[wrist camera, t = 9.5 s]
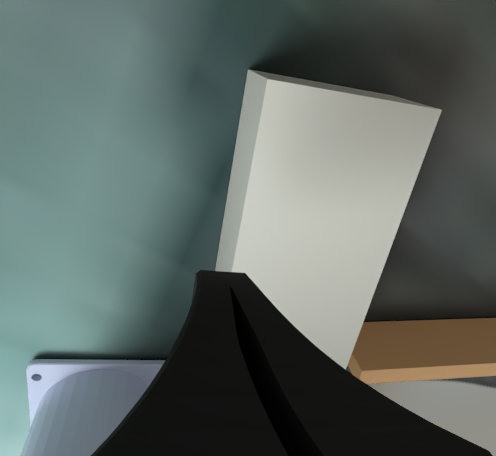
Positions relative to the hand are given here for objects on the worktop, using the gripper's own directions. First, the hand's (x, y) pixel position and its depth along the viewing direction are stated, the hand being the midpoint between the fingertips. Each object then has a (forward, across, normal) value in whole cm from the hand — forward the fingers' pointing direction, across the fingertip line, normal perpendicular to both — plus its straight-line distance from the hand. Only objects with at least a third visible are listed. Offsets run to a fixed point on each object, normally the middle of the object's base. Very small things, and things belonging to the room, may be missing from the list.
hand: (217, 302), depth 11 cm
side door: (+9, -16, +8) cm, 20 cm away
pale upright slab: (+9, -5, +2) cm, 11 cm away
